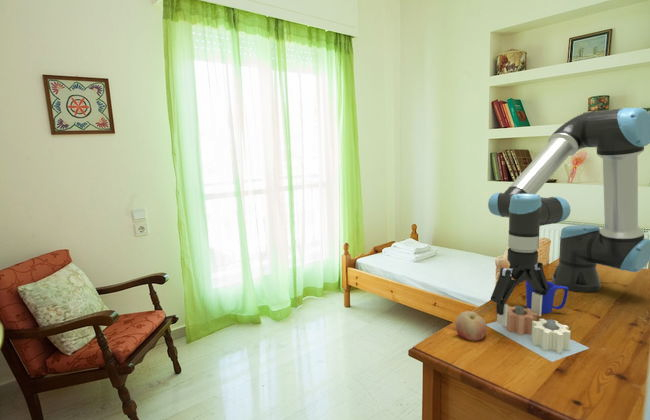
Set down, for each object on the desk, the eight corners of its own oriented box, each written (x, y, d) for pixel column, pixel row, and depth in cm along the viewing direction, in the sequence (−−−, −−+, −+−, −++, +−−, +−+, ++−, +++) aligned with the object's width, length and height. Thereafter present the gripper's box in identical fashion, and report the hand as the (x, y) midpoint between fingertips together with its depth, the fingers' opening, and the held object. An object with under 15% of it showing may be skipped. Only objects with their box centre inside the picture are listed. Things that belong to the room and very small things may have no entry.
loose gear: (543, 331, 101) (544, 314, 100) (521, 338, 98) (521, 321, 97) (517, 318, 109) (517, 303, 108) (496, 324, 106) (496, 309, 105)
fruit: (467, 349, 97) (468, 322, 95) (449, 335, 104) (450, 309, 103) (492, 344, 99) (493, 317, 97) (473, 330, 106) (473, 305, 105)
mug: (572, 319, 110) (574, 289, 108) (529, 317, 112) (531, 288, 111) (560, 308, 118) (562, 279, 116) (520, 306, 120) (522, 278, 119)
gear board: (519, 319, 112) (520, 295, 110) (589, 353, 92) (591, 324, 91) (485, 329, 107) (485, 304, 105) (551, 367, 87) (553, 337, 86)
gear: (536, 332, 101) (537, 315, 100) (572, 343, 95) (574, 325, 94) (526, 344, 95) (527, 327, 94) (564, 356, 89) (565, 338, 88)
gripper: (541, 240, 108) (538, 305, 111) (478, 252, 99) (476, 322, 102) (566, 245, 101) (561, 315, 104) (500, 259, 92) (497, 334, 95)
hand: (519, 319), depth 103 cm, fingers open, 13 cm apart
